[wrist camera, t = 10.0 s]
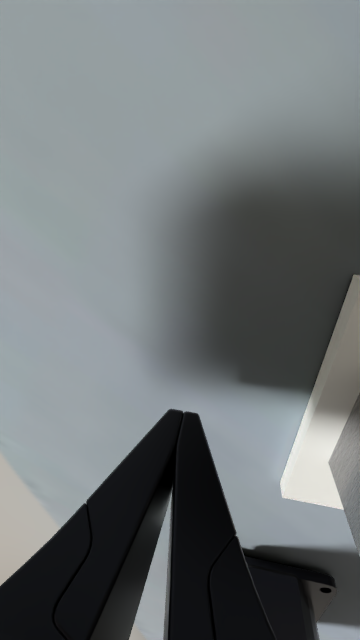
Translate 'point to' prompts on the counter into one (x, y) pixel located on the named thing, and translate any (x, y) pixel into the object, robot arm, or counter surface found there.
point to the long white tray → (327, 411)
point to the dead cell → (349, 470)
